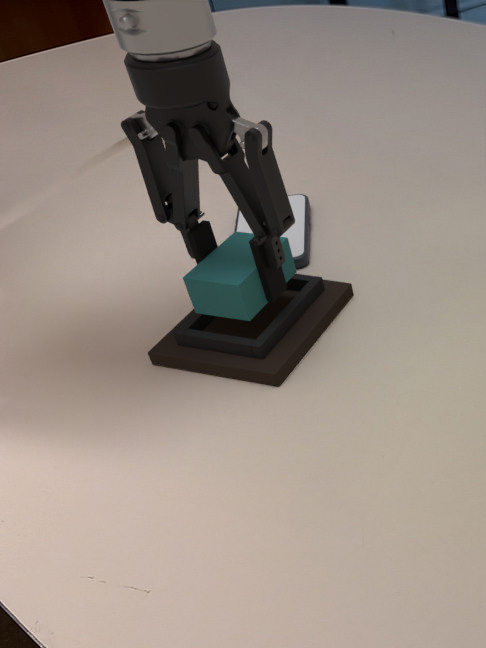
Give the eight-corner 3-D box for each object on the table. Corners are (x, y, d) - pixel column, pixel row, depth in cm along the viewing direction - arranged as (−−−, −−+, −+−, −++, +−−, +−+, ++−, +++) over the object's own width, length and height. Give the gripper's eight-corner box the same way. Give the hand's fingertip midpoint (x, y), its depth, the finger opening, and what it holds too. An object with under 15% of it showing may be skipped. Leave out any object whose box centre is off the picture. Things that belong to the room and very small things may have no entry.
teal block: (195, 313, 78) (182, 277, 75) (245, 265, 84) (235, 231, 82) (250, 321, 76) (238, 285, 74) (297, 272, 83) (287, 237, 80)
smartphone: (310, 269, 92) (311, 203, 104) (307, 257, 91) (308, 191, 103) (231, 280, 91) (240, 211, 103) (226, 267, 90) (237, 200, 102)
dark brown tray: (152, 364, 79) (141, 339, 77) (240, 278, 91) (233, 255, 89) (279, 386, 76) (271, 361, 74) (354, 294, 87) (349, 270, 85)
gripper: (40, 55, 65) (142, 298, 80) (248, 68, 60) (315, 323, 75) (103, 26, 70) (187, 259, 85) (298, 37, 66) (350, 281, 81)
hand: (247, 289), depth 80 cm, fingers closed on teal block, 6 cm apart
